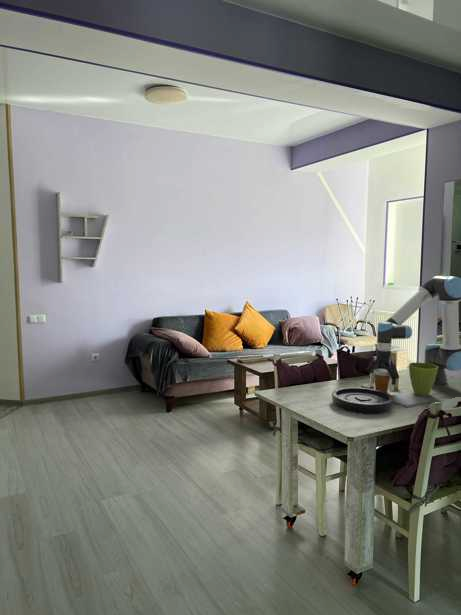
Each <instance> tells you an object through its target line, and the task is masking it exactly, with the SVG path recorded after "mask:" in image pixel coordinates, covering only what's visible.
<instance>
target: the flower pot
mask: <svg viewBox="0 0 461 615" xmlns="http://www.w3.org/2000/svg"><path fill="white" fill-rule="evenodd" d="M408 370H409V378H410V382H411V387H412V391H413V393H414V394H415V396H416V395H417V396H422V397H427V396H429V395H430V392H431V391H432V389H433V386H434V385H435V384H434V381H435V378H436V375H437V371H438V366H436V365H433V364H428V363H424V362H410V363H408Z"/></svg>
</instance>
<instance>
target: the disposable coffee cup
mask: <svg viewBox="0 0 461 615" xmlns="http://www.w3.org/2000/svg"><path fill="white" fill-rule="evenodd" d="M373 373H374V389H375V390H380V391H383V392H386V393H388V389H389V380H390V374H389V373H388V371H387V369H386V368H382V367H381V368H379V367H378V368H377V369H375V370H374V372H373Z"/></svg>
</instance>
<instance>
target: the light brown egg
mask: <svg viewBox="0 0 461 615" xmlns="http://www.w3.org/2000/svg"><path fill="white" fill-rule="evenodd" d="M390 379H391V376H390ZM399 380H400V377H399V378H397V379H396V382H395V385H394V390H399V385H400V383H399ZM388 389H390V380H389V386H388Z"/></svg>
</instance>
